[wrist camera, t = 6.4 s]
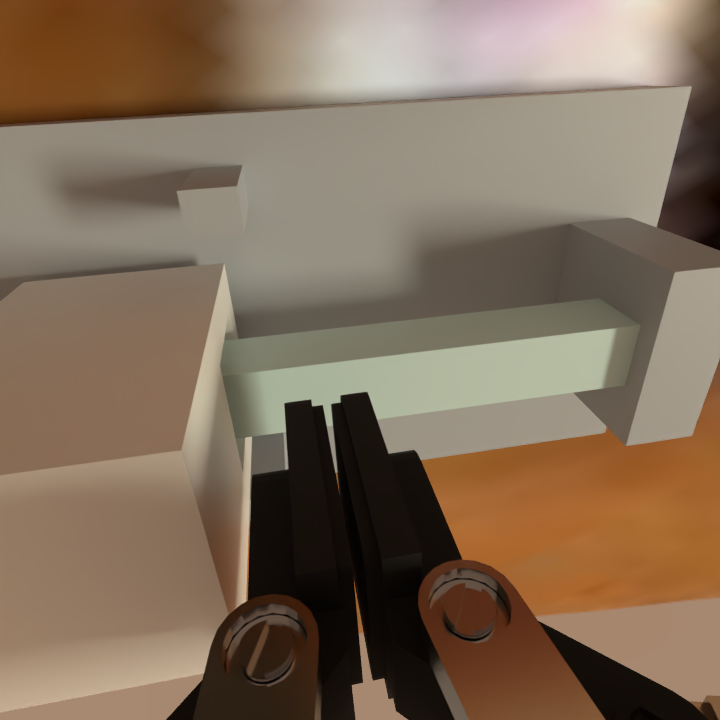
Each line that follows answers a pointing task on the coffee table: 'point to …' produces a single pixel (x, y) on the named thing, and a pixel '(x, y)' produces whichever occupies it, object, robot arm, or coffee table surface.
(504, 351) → the pale green crossbeam
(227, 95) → the coffee table surface
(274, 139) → the grey support base
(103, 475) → the sleeve
